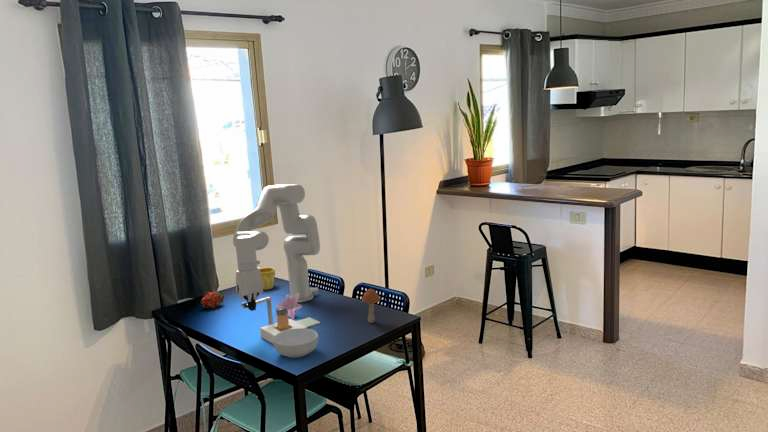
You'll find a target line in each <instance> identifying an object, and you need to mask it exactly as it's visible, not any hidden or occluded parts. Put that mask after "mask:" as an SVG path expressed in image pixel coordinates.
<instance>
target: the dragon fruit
mask: <svg viewBox="0 0 768 432" xmlns="http://www.w3.org/2000/svg"><path fill="white" fill-rule="evenodd" d="M224 299H225V298H224V294H223V293H221V291H215V290H212V291H211V292H209V291H207V292H206V294H204V295H203V297H202V299H201V301H199V304H200V305H202V307H203V308H205V309H206V308H207V309H210V308H212V309H215V308H216V307H219V306H220V304H223V303H224Z"/></svg>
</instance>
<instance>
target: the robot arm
mask: <svg viewBox="0 0 768 432" xmlns="http://www.w3.org/2000/svg"><path fill="white" fill-rule="evenodd" d="M305 195H306V191H305V188H304V187H303V186H302V185H301V184H299V183H298V184H297V183H295V184H293V183H291V184H288V183H287V184H272V185H267V186H264V188H263V189H262V190H261V193H260V195H259V198H258V201H257V204H256V206H255V207H254V208H255V209H254V210H253V211H251V212H250V213H248V214H247V215H246V216H244V217H243V218H242V219H241V220H240V221H239V222H238V224H237V226H236V228H235V231H234V233H233V237H232V243H233V246H234V248H235V251H236V259H237V260H236V262H237V270H236V272H235V292H236V293H237V298H238V299H240V300H245V301H246V302H247V304H248V310H249V311H251V312H253V311H256V310H257V309H256V308H257V304H256V301H257V300H258V297H259V296H260V295H261V294H263V293H264V290H263V282H262V277H261V273H260V270H259V269H260V267H258V266H259V265H260V264H261V261H260V260H258V259H257V251H260V250H263V249H265V248H266V247H267V246H268V244H269V240H270V239H269V235H268V234H267V233H266V232H264V231H261V230H256V231H255V230H253V229H255V228H257V227H259V226H262V225H264V224H267V223H269V222H271V221H272V220H273V219H274V217H275V214H276V211H277V208H279V212H280V216H281V221H282V227H283V231H284V233H286V234H287V235H290V236H287V237H285V238H284V241H283V249H284V253H285V257H286V263H287V272H288V282H289V283H288V285H289V293H290V294H289V296H290V297H293V296H294V295H295V294H297V293H299V297H298V300H297V303H298V304H299V303H304V302H305V303H306V302H308V301H311V300H313V299H314V294H313V293H315V292H318V291H319V287H310V280H309V272H308V271H309V269H308V263H307V259H306V258H305V257H304V256H316V255H318V254H319V252H320V250H321V242H320V236H319V227H318V224H317V220H316V218H315V216H313V215H311V214H301V213H300V211H299V205H298V204H300V203H302V202H303V201H304V200H305Z"/></svg>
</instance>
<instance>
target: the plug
mask: <svg viewBox="0 0 768 432" xmlns="http://www.w3.org/2000/svg"><path fill="white" fill-rule="evenodd" d="M275 313H276V323H277V325H278V330H279V331H283V330H286V329H289V321H288V319H289V315H288V310H287V307H277V308H276V309H275Z"/></svg>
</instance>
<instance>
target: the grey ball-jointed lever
mask: <svg viewBox="0 0 768 432" xmlns="http://www.w3.org/2000/svg"><path fill="white" fill-rule="evenodd" d="M268 300H271V301H272V300H273V297H272V296H271V295H268V296H265V297H263V298H260V299H257V300H256V305H259V304H262V303H264V302H267V301H268ZM240 304H241V309H246V308H248V304H247V301H243V302H240Z"/></svg>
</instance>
